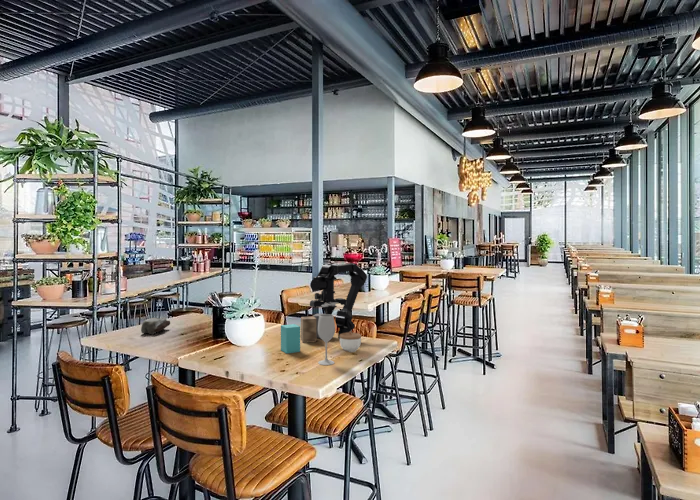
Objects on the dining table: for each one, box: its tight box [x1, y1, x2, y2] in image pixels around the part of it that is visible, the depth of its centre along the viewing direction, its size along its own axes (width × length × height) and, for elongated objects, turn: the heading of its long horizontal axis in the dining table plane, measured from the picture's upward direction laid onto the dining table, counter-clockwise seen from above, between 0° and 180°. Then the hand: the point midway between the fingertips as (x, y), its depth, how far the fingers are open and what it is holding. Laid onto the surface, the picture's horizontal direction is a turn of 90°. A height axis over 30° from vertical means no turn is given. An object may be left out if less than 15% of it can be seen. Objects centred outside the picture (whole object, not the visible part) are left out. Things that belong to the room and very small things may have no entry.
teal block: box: [280, 323, 301, 354], centre depth 208 cm, size 7×7×12 cm
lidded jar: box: [339, 331, 362, 353], centre depth 212 cm, size 11×11×9 cm
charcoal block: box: [312, 313, 323, 339], centre depth 238 cm, size 7×7×12 cm
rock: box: [140, 317, 171, 335], centre depth 252 cm, size 18×11×8 cm, turn 2°
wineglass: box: [317, 313, 336, 366], centre depth 191 cm, size 8×8×21 cm
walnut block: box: [300, 315, 317, 343], centre depth 229 cm, size 7×7×12 cm
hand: (328, 319), depth 224 cm, fingers closed
